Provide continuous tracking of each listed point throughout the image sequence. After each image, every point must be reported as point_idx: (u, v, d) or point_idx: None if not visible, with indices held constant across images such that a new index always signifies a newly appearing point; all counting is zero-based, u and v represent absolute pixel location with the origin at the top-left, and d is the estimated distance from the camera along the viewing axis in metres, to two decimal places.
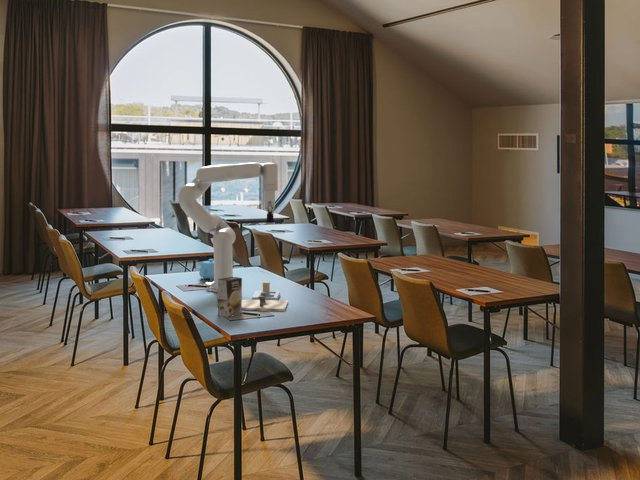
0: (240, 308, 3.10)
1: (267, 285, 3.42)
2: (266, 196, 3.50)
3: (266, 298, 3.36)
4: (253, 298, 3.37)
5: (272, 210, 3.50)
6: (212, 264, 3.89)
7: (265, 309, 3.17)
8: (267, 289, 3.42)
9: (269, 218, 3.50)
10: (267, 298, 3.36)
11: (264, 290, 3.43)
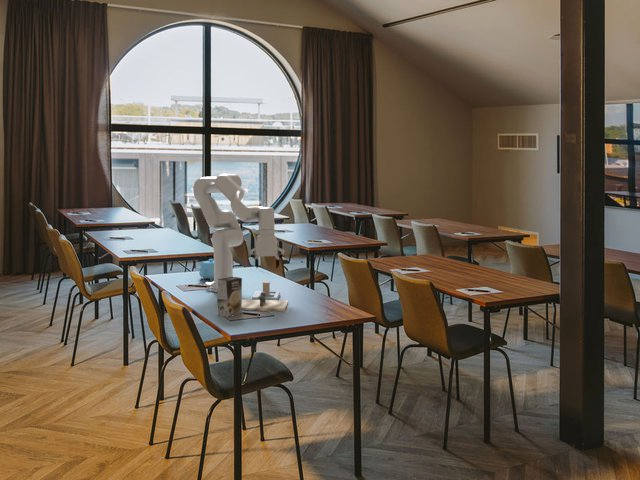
0: (240, 308, 3.10)
1: (267, 285, 3.42)
2: (276, 241, 3.39)
3: (266, 298, 3.36)
4: (253, 298, 3.37)
5: (277, 255, 3.43)
6: (212, 264, 3.89)
7: (265, 309, 3.17)
8: (267, 289, 3.42)
9: None
10: (267, 298, 3.36)
11: (264, 290, 3.43)
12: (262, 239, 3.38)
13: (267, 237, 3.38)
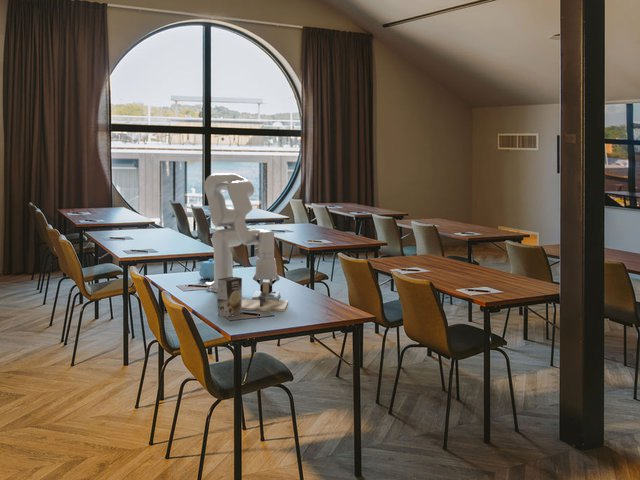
0: (240, 308, 3.10)
1: (267, 285, 3.42)
2: (275, 265, 3.41)
3: (266, 298, 3.36)
4: (253, 298, 3.37)
5: None
6: (212, 264, 3.89)
7: (265, 309, 3.17)
8: (267, 289, 3.42)
9: None
10: (267, 298, 3.36)
11: (264, 290, 3.43)
12: (262, 262, 3.40)
13: (267, 261, 3.40)
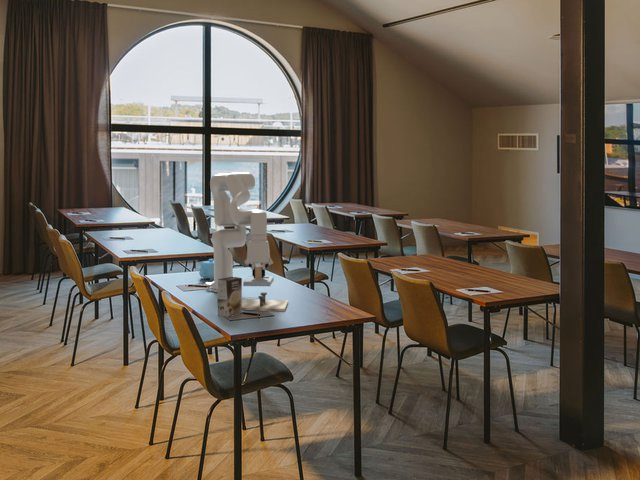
0: (240, 308, 3.10)
1: (260, 269, 3.22)
2: (268, 247, 3.20)
3: (258, 282, 3.16)
4: (245, 283, 3.16)
5: None
6: (212, 264, 3.89)
7: (265, 309, 3.17)
8: (260, 273, 3.22)
9: (264, 273, 3.23)
10: (259, 282, 3.16)
11: (256, 274, 3.22)
12: (254, 244, 3.19)
13: (259, 243, 3.19)
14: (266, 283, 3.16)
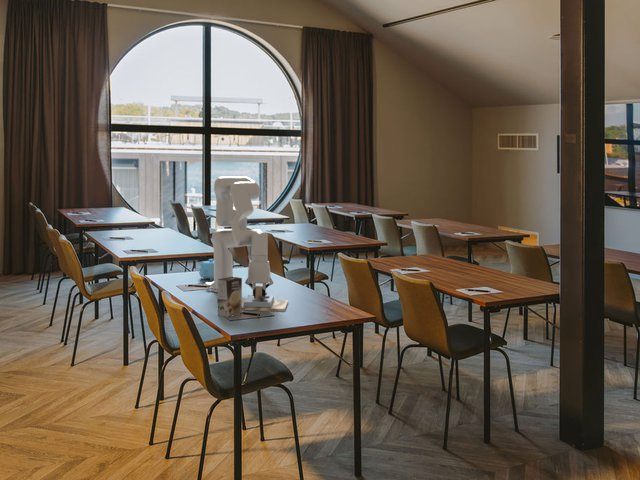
0: (240, 308, 3.10)
1: (260, 289, 3.23)
2: (269, 268, 3.22)
3: (259, 303, 3.18)
4: (245, 303, 3.18)
5: None
6: (212, 264, 3.89)
7: (265, 309, 3.17)
8: (260, 294, 3.24)
9: (265, 293, 3.25)
10: (260, 303, 3.18)
11: (257, 295, 3.24)
12: (254, 265, 3.21)
13: (260, 264, 3.21)
14: (266, 304, 3.17)
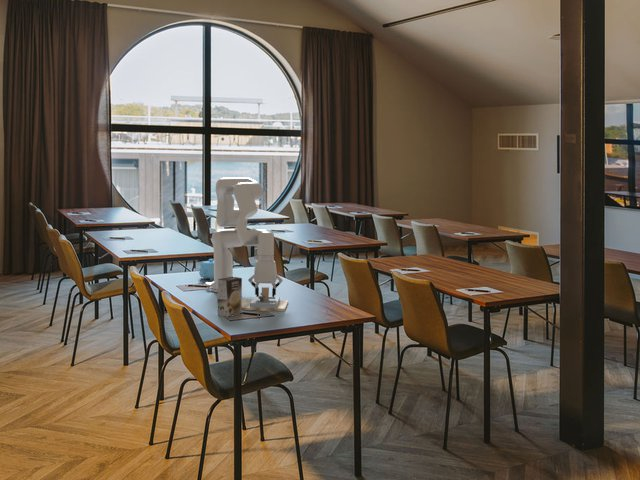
0: (240, 308, 3.10)
1: (266, 290, 3.23)
2: (275, 268, 3.22)
3: (265, 304, 3.17)
4: (251, 304, 3.18)
5: None
6: (212, 264, 3.89)
7: (265, 309, 3.17)
8: (266, 294, 3.24)
9: (275, 292, 3.24)
10: (266, 304, 3.18)
11: (263, 295, 3.24)
12: (261, 265, 3.21)
13: (266, 264, 3.20)
14: (273, 305, 3.17)
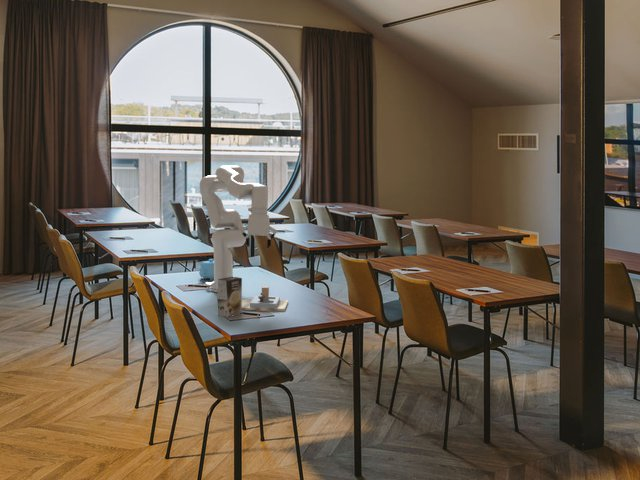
0: (240, 308, 3.10)
1: (266, 290, 3.23)
2: (268, 220, 3.30)
3: (265, 304, 3.17)
4: (251, 304, 3.18)
5: (269, 234, 3.34)
6: (212, 264, 3.89)
7: (265, 309, 3.17)
8: (266, 294, 3.24)
9: (270, 243, 3.33)
10: (266, 304, 3.18)
11: (263, 295, 3.24)
12: (254, 217, 3.29)
13: (260, 216, 3.29)
14: (273, 305, 3.17)
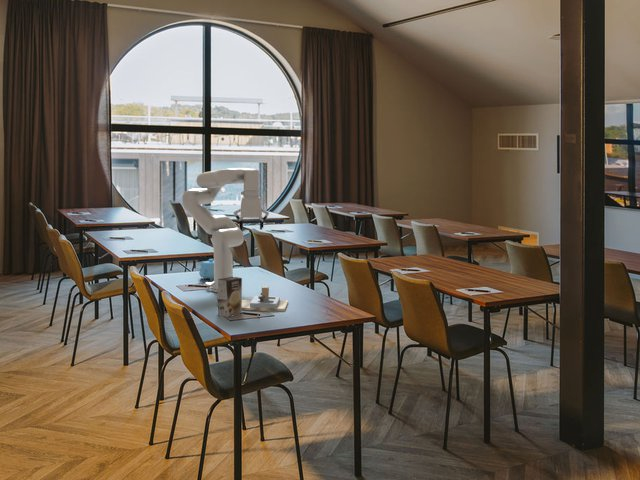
0: (240, 308, 3.10)
1: (266, 290, 3.23)
2: (260, 203, 3.42)
3: (265, 304, 3.17)
4: (251, 304, 3.18)
5: (262, 217, 3.46)
6: (212, 264, 3.89)
7: (265, 309, 3.17)
8: (266, 294, 3.24)
9: None
10: (266, 304, 3.18)
11: (263, 295, 3.24)
12: (247, 200, 3.41)
13: (252, 199, 3.41)
14: (273, 305, 3.17)
